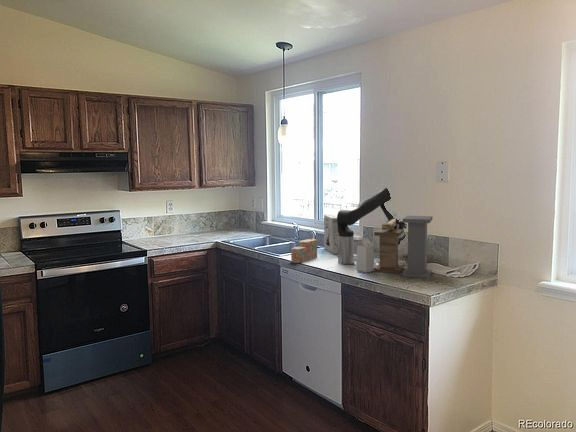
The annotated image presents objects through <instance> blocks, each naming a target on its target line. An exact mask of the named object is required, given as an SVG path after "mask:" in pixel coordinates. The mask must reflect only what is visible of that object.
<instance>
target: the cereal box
mask: <svg viewBox="0 0 576 432" xmlns="http://www.w3.org/2000/svg"><path fill="white" fill-rule="evenodd" d="M337 215H338V214H334V213H329V214H328V213H327V214H323V227H324V228H323V232H324V233H323V234H324V235H323V236H324V237H323V239H324V241H323V242H324V246H323V247H324V249H325V251H328V252H329V253H331V254H332V255H338V247H339V233H338V228H337Z"/></svg>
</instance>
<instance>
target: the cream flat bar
mask: <svg viewBox="0 0 576 432" xmlns="http://www.w3.org/2000/svg"><path fill="white" fill-rule="evenodd" d="M396 225H397V224H396V219H392V220H390V221H389V222H388V223H387V222H385V223H382V224H381V229H382V230H393V229H394V226H396Z"/></svg>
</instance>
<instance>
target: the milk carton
mask: <svg viewBox="0 0 576 432" xmlns="http://www.w3.org/2000/svg"><path fill="white" fill-rule="evenodd" d="M360 240H361V241H360V242H359V243H357V245H356V271H357V272H362V273H370V272H375V271H374V269H375V245H374V244H373V242H372V241H371V240H370V237H367V238H362V239H360Z"/></svg>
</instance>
